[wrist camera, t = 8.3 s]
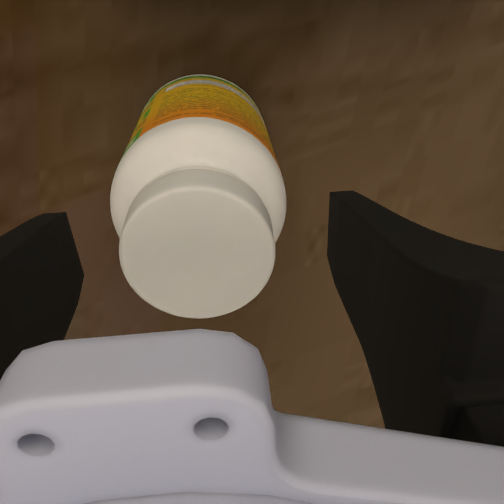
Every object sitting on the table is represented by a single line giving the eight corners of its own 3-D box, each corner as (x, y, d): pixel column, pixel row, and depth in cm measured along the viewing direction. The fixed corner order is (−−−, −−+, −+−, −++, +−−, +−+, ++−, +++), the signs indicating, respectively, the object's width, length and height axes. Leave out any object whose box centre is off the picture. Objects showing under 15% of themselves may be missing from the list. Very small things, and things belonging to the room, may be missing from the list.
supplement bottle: (135, 66, 18) (74, 151, 10) (271, 76, 19) (318, 163, 11) (141, 193, 21) (97, 339, 13) (259, 197, 22) (289, 340, 13)
